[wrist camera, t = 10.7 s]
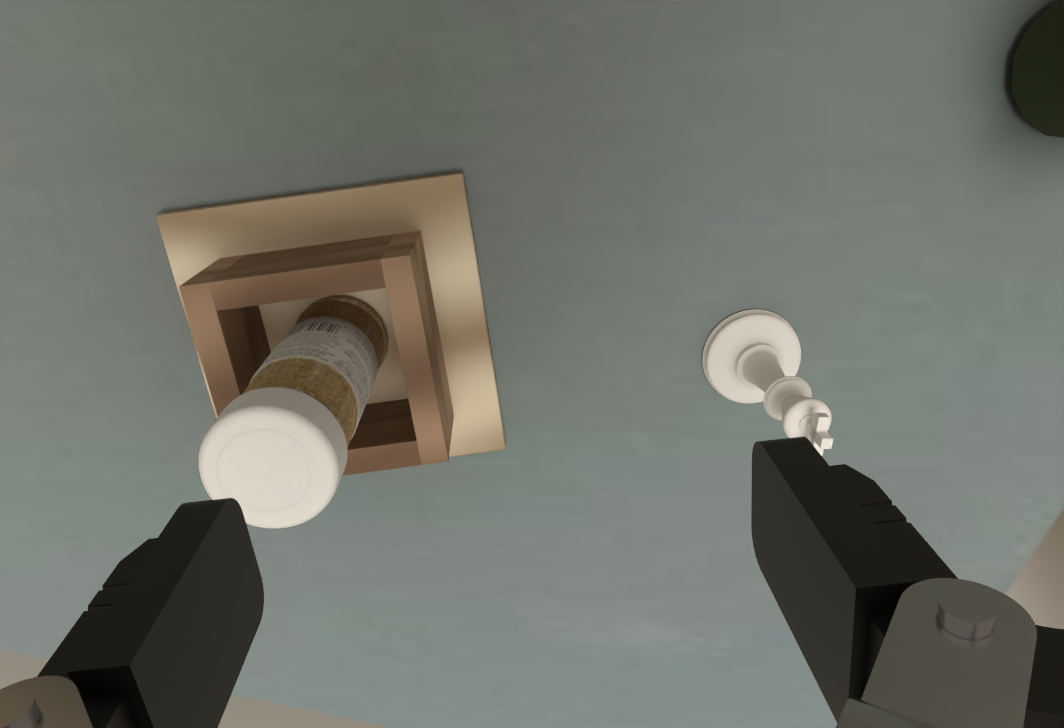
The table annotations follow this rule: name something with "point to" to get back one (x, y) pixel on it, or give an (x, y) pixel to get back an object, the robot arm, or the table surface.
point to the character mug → (1042, 72)
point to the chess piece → (766, 372)
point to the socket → (363, 274)
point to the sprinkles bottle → (297, 416)
